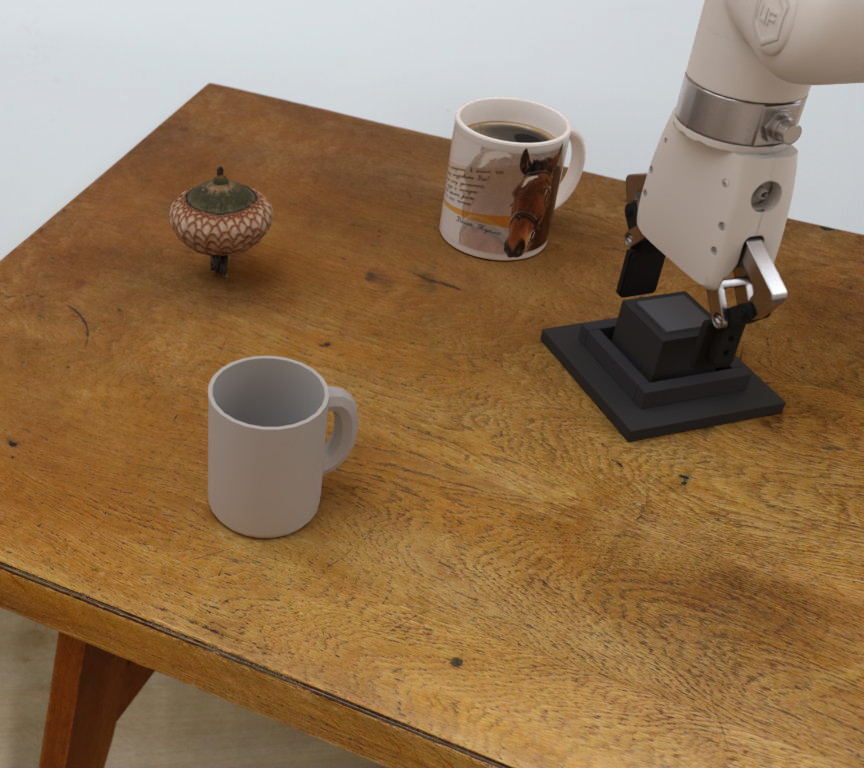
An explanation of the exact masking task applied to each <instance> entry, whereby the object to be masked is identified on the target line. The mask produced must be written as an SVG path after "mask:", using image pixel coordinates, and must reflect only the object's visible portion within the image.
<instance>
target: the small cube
mask: <svg viewBox="0 0 864 768" xmlns="http://www.w3.org/2000/svg"><path fill="white" fill-rule="evenodd" d="M617 317H618V319H617V323H616V326H615V330H614V334H613V338H612V341H611V342H612V343H613V344H614V345H615V346H616V347H617V348H618V350H619V351H620V352H621V353H622V354H623V355H624V356H625V357H626V358H627V359H628V360H629V361H630V362H631V363H632V364H633V365H634V367H635V368H636V369H637V370H638V371H639V372H640V373H641V374H642V375H643V376H644V377H645V378H646V379H647V380H648V381H649V383H651V382H657V381H663V380H669V379H674V378H680V377H686V376H692V375H698V374H703V373H709V372H715V370H716V368H713V369H707V370H702V371H695V370H694V369H693V368H692V367H691V366H690V359H691V356H692V353H693V350H694V347H695V344H696V341H697V338H698V335H699V332H700V329H701V326H702V323H703V322H704V320H708V319H711V314H710V311H708V309H706V308H705V307H704V306H703V305H702V304H700V303H699V301H698V300H696V299H695V298H694V297H693V296H692V295H691V294H690V293H689V292H687V291H686V290H681V291H675V292H669V293H662V294H661V293H660V294H656V295H655V294H654V295H648V296H641V297H635V298H629V299H628V298H627V299H623V300H622V301H621V304H620V307H619V311H618V315H617Z"/></svg>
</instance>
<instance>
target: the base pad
mask: <svg viewBox="0 0 864 768" xmlns="http://www.w3.org/2000/svg"><path fill="white" fill-rule="evenodd" d="M617 319H618V316H617V317H611V318H604V319H598V320H592V321H586V322H579V323H573V324H572V323H571V324H566V325H560V326H559V325H558V326H552V327H546V328H542V329H541V333H540V338H539V340H540V341H541V342H542V343H543V344H544V346H546V348H547V349H548V350H549V351H550V353H552V355H553V356H554V357H555V358H556V359H557V361H558V362H559V363H560V364H561V365H562V366H563V368H564V369H565V370H566V371H567V372H568V373H569V375H570V376H571V377H572V378H573V379H574V380H575V382H576V383H577V384H578V385H579V387H580V388H581V389H582V390H583V391H584V392H585V394H586V395H588V397H589V399H591V401H593V403H594V404H595V405H596V407H598V409H599V410H600V411H601V412H602V413H603V415H604V416H605V417H606V418H607V419H608V420H609V421H610V422H611V424H612V425H613V426H614V428H616V430H617V431H618V432H619V433H620V434H621V435H622V437H623V438H624V439H625V440H626V441H627V442H628V443H629V442H633V441H634V442H635V441H639V440H644V439H650V438H651V439H652V438H657V437H660V436H666V435H667V436H668V435H672V434H676V433H682V432H687V431H693V430H698V429H703V428H708V427H714V426H720V425H725V424H730V423H735V422H740V421H741V422H742V421H745V420H751V419H757V418H761V417H767V416H772V415H777V414H782V413H783V411H784V409H785V407H786V404H787V401H785V400H784V399H783V398H782V397H781V396H780V395H779V394H778V393H777V392H776V391H775V390H774V389H773V388H771V387H770V385H768V383H766V382H765V381H764V379H762V378H761V377H760V376H759V375H757V374H756V373H755V372H754V371H753V370H752V369H751V368H750V367H749V366H748V365H747V363H745V362H743V360H742V359H740V358H739V357H738V356H737V355H736V354H735V356H734V359H733V362H732V363H731V364H730V365H729V366H725V367H719V368H716V370H715V372H709V373H703V374H698V375H692V376H686V377H680V378H674V379H669V380H663V381H657V382H651V383H649V381H648V380H647V379H646V378H645V377H644V376H643V375H642V374H641V373H640V372H639V371H638V370H637V369H636V368H635V367H634V365H633V364H632V363H631V362H630V361H629V360H628V359H627V358H626V357H625V356H624V355H623V354H622V353H621V352H620V351H619V350H618V348H617V347H616V346H615V345H614V344H613V343H612V342H611V341H612V338H613V334H614V330H615V326H616V323H617Z"/></svg>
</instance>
